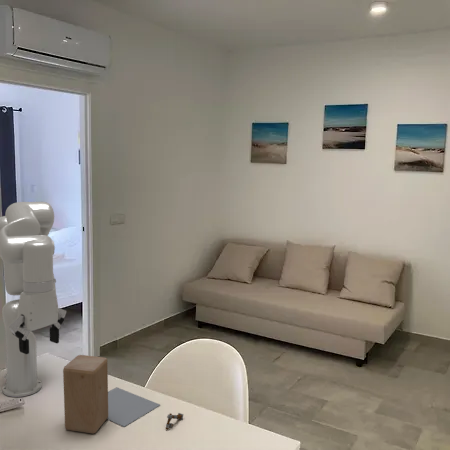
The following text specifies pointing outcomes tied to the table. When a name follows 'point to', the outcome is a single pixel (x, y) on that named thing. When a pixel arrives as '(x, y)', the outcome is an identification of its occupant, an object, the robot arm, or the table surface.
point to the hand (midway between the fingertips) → (39, 347)
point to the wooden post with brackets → (170, 416)
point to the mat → (127, 406)
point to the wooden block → (85, 393)
